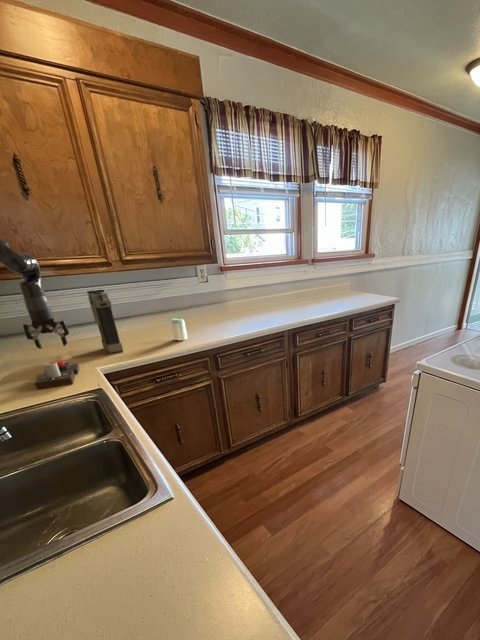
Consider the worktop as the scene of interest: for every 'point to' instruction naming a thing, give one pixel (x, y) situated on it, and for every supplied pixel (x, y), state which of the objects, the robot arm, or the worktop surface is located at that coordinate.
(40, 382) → the panel
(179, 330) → the can
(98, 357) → the worktop surface
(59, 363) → the power button
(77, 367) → the switch block
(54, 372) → the white cup
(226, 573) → the worktop surface
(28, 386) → the worktop surface
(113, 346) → the device
